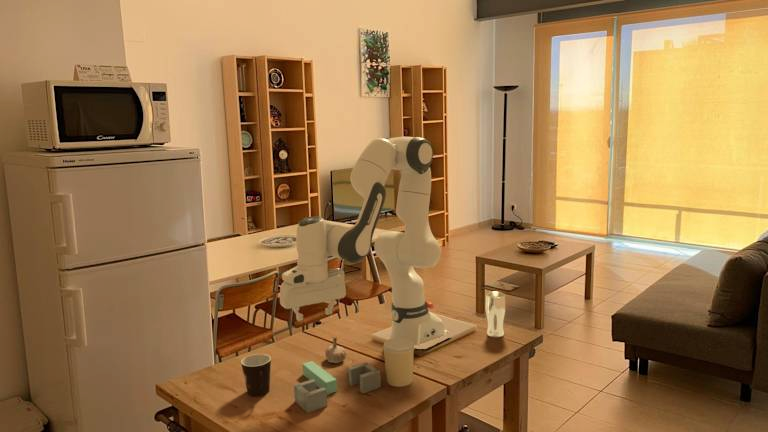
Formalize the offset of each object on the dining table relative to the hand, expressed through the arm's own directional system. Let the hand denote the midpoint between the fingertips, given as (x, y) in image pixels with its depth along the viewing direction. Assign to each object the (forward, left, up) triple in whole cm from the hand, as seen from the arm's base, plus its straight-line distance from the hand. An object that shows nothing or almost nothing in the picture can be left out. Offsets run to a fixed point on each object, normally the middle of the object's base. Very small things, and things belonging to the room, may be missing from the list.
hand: (314, 317), depth 175 cm
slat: (0, 0, -21) cm, 21 cm away
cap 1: (+8, +10, -21) cm, 25 cm away
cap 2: (-10, +10, -21) cm, 25 cm away
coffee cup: (-20, +14, -21) cm, 33 cm away
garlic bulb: (-12, -11, -21) cm, 27 cm away
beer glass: (-68, +6, -21) cm, 72 cm away
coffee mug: (+18, -5, -21) cm, 28 cm away
